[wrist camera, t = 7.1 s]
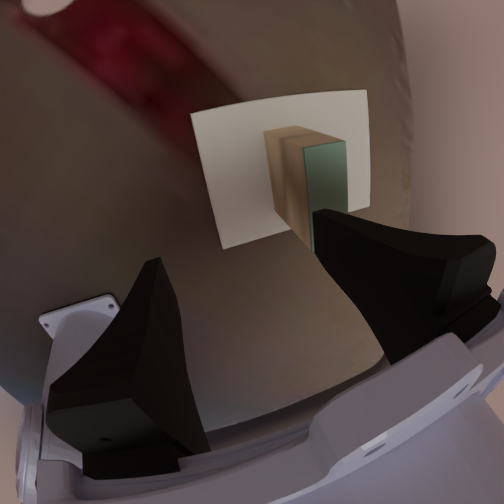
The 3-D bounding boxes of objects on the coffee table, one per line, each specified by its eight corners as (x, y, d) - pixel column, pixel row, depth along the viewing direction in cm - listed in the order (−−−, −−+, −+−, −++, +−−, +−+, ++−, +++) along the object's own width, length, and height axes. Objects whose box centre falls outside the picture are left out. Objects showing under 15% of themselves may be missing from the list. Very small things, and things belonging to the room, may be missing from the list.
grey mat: (365, 203, 24) (369, 206, 24) (221, 245, 22) (223, 249, 22) (361, 89, 19) (366, 89, 18) (190, 113, 17) (191, 114, 16)
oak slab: (304, 203, 22) (347, 240, 17) (275, 211, 21) (312, 252, 16) (296, 125, 18) (345, 140, 13) (263, 131, 18) (303, 148, 13)
